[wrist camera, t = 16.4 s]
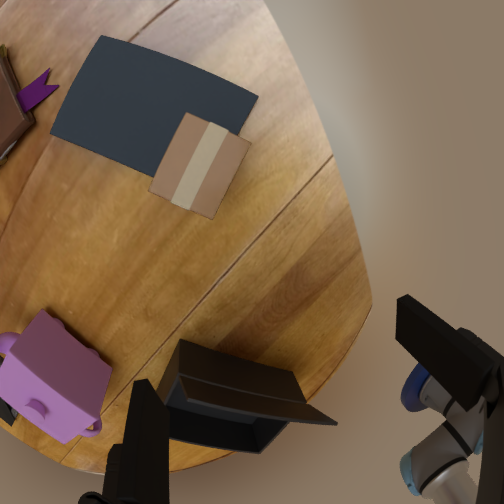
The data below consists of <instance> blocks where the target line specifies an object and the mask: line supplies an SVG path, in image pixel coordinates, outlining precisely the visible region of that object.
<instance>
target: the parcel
mask: <svg viewBox="0 0 504 504" xmlns="http://www.w3.org/2000/svg"><path fill="white" fill-rule="evenodd" d="M250 145H251V142H249V141H247V140H245V139H243V138H241V137H239V136H237V135H235V134H233V133H231V132H229V130H227V129H225V128H223V127H221V126H219V125H216V124H214V123H212V122H208V121H206V120H203V119H201V118H199V117H197V116H195V115H192V114H190V113H188V112H186V113H185V115H184V117H183V119H182V121H181V123H180V124H179V126H178V128H177V130H176V132H175V134H174V136H173V138H172V140H171V142H170V144H169V146H168V148H167V150H166V152H165V154H164V156H163V158H162V160H161V163H160V165H159V167H158V169H157V171H156V173H155V176H154V178H153V180H152V182H151V185H150V187H149V189H148V191H149V192H151V193H153V194H155V195H158V196H160V197H162V198H164V199H167V200H169V201H171V203H173V204H175V205H178V206H180V207H182V208H184V209H186V210H191V211H193V212H196V213H198V214H200V215H202V216H205V217H207V218H209V219H211V220H213V218H214V216H215V214H216V212H217V210H218V208H219V206H220V204H221V202H222V200H223V198H224V196H225V194H226V192H227V190H228V188H229V186H230V184H231V182H232V180H233V178H234V176H235V174H236V172H237V170H238V168H239V166H240V164H241V162H242V161H243V159H244V157H245V155H246V153H247V151H248V149H249V147H250Z"/></svg>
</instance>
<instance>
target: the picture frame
mask: <svg viewBox="0 0 504 504" xmlns="http://www.w3.org/2000/svg"><path fill="white" fill-rule="evenodd" d="M3 361H4V359H3V358H2V357H1V356H0V367H1V365H2V363H3ZM17 414H18V411H16V410H15V409H14V408H13V407H11V406H10V405H9V404H8V403H7V402H6V401H4V400H3V399H2V398H1V397H0V418H2V419H3V420H4V421H5V422H6V423H8V424H9V425H10V426H11V427H12V425H13V423H14V421H15V418H16V416H17Z"/></svg>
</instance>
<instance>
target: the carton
mask: <svg viewBox="0 0 504 504" xmlns="http://www.w3.org/2000/svg"><path fill="white" fill-rule="evenodd" d="M179 375H182V376H185V377H188V378H191V379H195V380H198V381H202V382H205V383H209V384H213V385H217V386H220V387H224V388H228V389H232V390H237V391H241V392H245V393H250V394H254V395H259V396H264V397H269V398H274V399H279V400H285V401H291V402H297V403H303V404H306V403H307V401H306V399H305V397H304V395H303V393H302V391H301V389H300V386H299V384H298V382H297V380H296V378H295V376H294V374H293V372H292V371H287V370H283V369H279V368H275V367H271V366H267V365H264V364H260V363H256V362H253V361H249V360H245V359H242V358H239V357H235V356H232V355H228V354H225V353H222V352H219V351H215V350H212V349H209V348H206V347H203V346H200V345H197V344H194V343H191V342H188V341H185V340H182V339H180V340H179V342H178V344H177V346H176V348H175V350H174V353H173V355H172V357H171V359H170V361H169V364H168V366H167V368H166V370H165V372H164V375H163V377H162V379H161V381H160V384H159V386H158V388H157V390H156V393H157V394H158V396H159V397H160V399H161V400H162V402H163V403H164V405H165V406H166V408H167V409H168V411H169V412H170V424H169V439H172V440H176V441H181V442H185V443H190V444H195V445H200V446H205V447H211V448H217V449H223V450H230V451H237V452H245V453H255V454H260V453H261V452H262V451H263V450H264V449H265V448H266V447H267V446H268V445H269V444H270V443H271V442H272V441H273V440H274V439H275V438H276V437H277V436H278V435H279V434H280V432H281V431H282V430H283V429H284V428H285V427H286V426H287V424H289V422H290V421H282V420H275V419H268V418H262V417H256V416H250V415H245V414H239V413H234V412H230V411H225V410H220V409H216V408H211V407H207V406H203V405H199V404H195V403H191V402H188V401H187V400H186V397H185V394H184V392H183V389H182V386H181V384H180V381H179V378H178V377H179Z"/></svg>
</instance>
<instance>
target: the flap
mask: <svg viewBox="0 0 504 504" xmlns="http://www.w3.org/2000/svg"><path fill="white" fill-rule="evenodd" d="M178 378H179V381H180V384H181V386H182V389H183V392H184V394H185V397H186V400H187V401H188V402H191V403H195V404H199V405H203V406H207V407H211V408H216V409H220V410H225V411H230V412H234V413H239V414H245V415H250V416H256V417H262V418H268V419H275V420H282V421H290V422H299V423H309V424H321V425H337V424H338V422H336V421H334V420H333V419H331V418H330V417H328V416H326V415H325V414H323V413H322V412H320V411H319V410H317V409H315V408H314V407H312V406H311V405H309V404H303V403H297V402H291V401H285V400H279V399H274V398H269V397H264V396H259V395H254V394H250V393H245V392H241V391H237V390H232V389H228V388H224V387H220V386H217V385H213V384H209V383H205V382H202V381H198V380H195V379H191V378H188V377H185V376H182V375H179V377H178Z"/></svg>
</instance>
